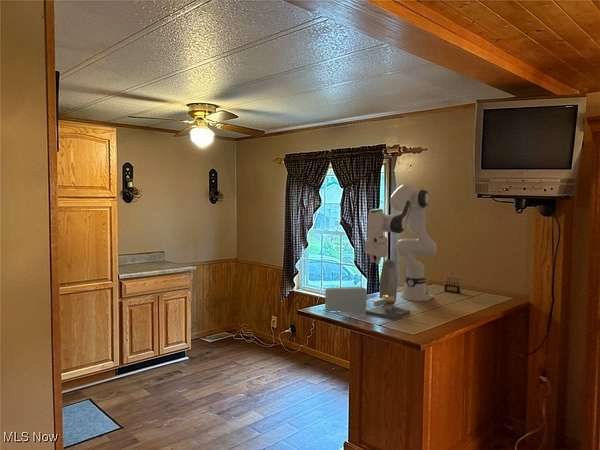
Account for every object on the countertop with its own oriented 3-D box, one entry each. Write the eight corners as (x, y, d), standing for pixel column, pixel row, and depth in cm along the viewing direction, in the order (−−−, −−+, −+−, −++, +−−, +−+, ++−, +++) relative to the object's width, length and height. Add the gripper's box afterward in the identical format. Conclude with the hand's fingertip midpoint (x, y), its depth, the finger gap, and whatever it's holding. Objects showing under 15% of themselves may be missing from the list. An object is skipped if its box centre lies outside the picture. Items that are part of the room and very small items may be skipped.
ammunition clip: (444, 291, 314) (444, 274, 314) (445, 291, 316) (445, 274, 315) (459, 293, 308) (460, 276, 307) (460, 293, 309) (460, 275, 309)
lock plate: (382, 308, 264) (382, 298, 264) (410, 313, 252) (410, 303, 252) (365, 314, 250) (366, 303, 250) (394, 320, 239) (394, 309, 238)
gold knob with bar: (384, 300, 256) (385, 293, 256) (398, 303, 251) (398, 296, 251) (368, 306, 243) (368, 298, 243) (382, 308, 238) (382, 301, 237)
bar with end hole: (327, 313, 253) (328, 289, 252) (325, 310, 258) (325, 287, 257) (366, 311, 258) (367, 288, 257) (362, 308, 264) (363, 286, 263)
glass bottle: (396, 308, 265) (397, 261, 263) (378, 307, 267) (379, 260, 265) (396, 304, 275) (397, 259, 273) (379, 303, 277) (380, 258, 275)
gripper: (361, 236, 255) (361, 260, 255) (379, 240, 235) (378, 266, 236) (371, 236, 257) (371, 260, 257) (389, 240, 237) (389, 265, 238)
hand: (374, 263), depth 247 cm, fingers open, 5 cm apart
